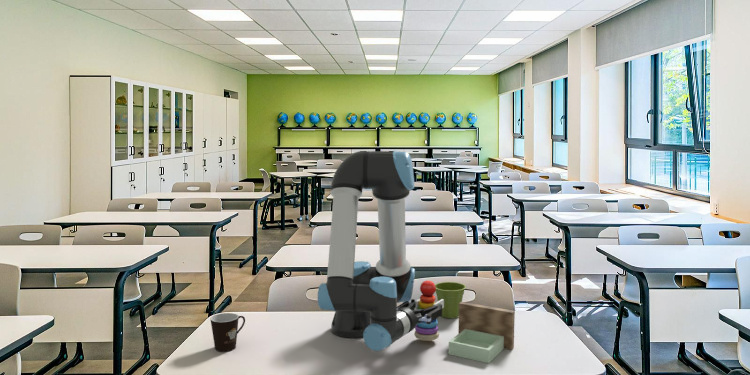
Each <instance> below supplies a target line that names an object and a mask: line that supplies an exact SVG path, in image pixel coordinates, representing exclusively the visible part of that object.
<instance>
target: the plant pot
mask: <svg viewBox="0 0 750 375" xmlns="http://www.w3.org/2000/svg"><path fill="white" fill-rule="evenodd" d="M434 284H435V286H436V291H435V294H436V298H437V302H438V301H439V300H441V299H444V308H442V316H441V318H444V319H445V318H448V319H457V318H459V303H460V302H463V296H464V294H465V289H466V288H467V286H466V285H465V284H464V283H461V282H454V281H442V282H437V283H434Z"/></svg>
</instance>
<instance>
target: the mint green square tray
mask: <svg viewBox="0 0 750 375" xmlns="http://www.w3.org/2000/svg"><path fill="white" fill-rule="evenodd" d="M504 349H505V348H504V336H499V335H494V334H489V333H484V332H479V331H474V330H469V329H464V330H463V331H462V332H460V333H459V334H456V335H455V336H454V337H453V338H451V339H450V340H448V355H451V356H455V357H459V358H462V359H463V358H464V359H467V360H473V361H477V362H482V363H486V364H490V363H491V362H492V361H493V360H494V359H495V358H496V357H497V356H498V355H499V354H501V352H502V351H503V350H504Z"/></svg>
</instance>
